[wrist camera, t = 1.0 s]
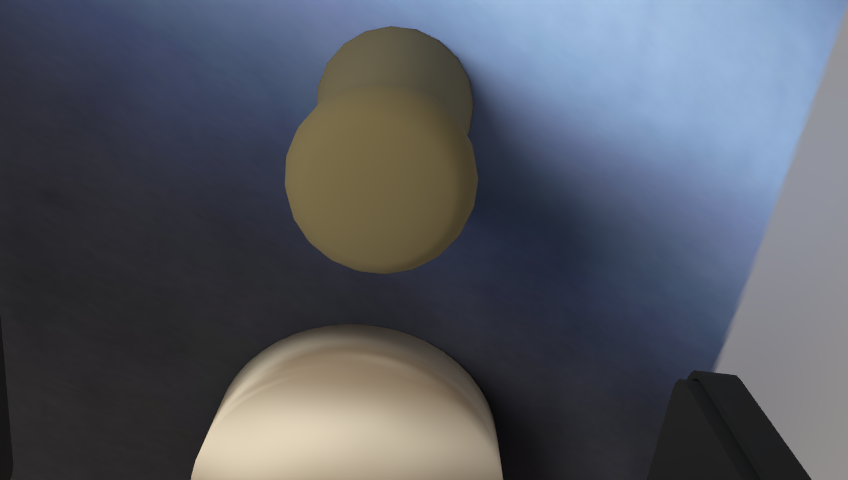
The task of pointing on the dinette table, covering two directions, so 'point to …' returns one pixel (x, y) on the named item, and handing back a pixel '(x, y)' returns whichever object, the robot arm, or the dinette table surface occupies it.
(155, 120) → the dinette table surface
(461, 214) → the olive pawn
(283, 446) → the disc
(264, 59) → the dinette table surface
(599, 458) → the dinette table surface
